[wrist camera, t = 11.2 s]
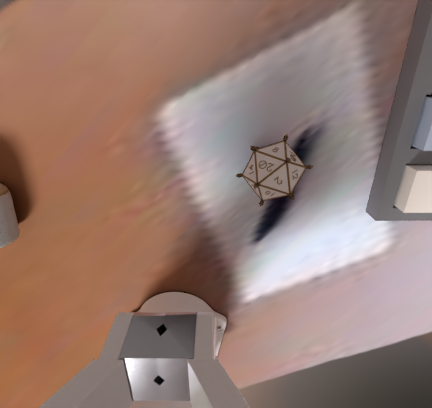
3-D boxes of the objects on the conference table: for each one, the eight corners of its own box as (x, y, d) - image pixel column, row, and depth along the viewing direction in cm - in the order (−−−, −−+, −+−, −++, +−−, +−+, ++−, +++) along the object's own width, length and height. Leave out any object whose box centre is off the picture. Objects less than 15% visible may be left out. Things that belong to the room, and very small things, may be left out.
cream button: (432, 203, 42) (447, 212, 39) (391, 203, 42) (403, 212, 39) (447, 163, 39) (464, 170, 36) (403, 163, 39) (417, 170, 37)
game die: (253, 162, 45) (215, 189, 38) (277, 115, 39) (237, 137, 32) (300, 196, 43) (268, 231, 36) (333, 152, 37) (302, 185, 30)
